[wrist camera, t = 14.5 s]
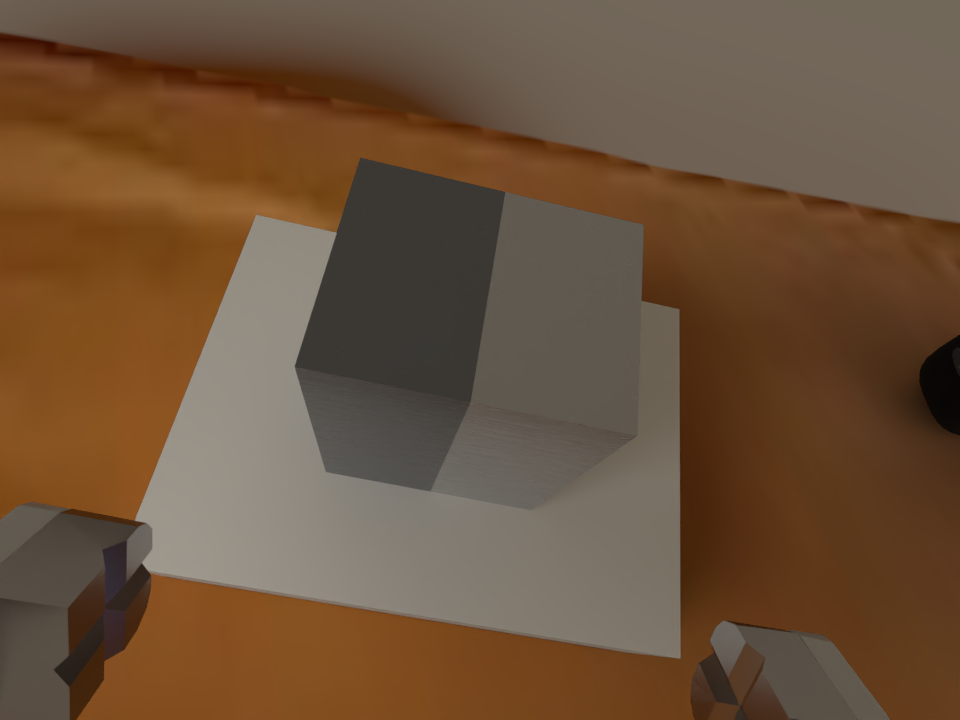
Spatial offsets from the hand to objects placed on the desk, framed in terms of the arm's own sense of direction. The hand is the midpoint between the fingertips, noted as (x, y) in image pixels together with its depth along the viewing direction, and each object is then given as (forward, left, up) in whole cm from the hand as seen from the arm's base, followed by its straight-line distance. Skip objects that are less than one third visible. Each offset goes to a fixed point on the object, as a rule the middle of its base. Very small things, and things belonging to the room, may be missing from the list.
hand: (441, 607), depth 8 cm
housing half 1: (+2, +6, -9) cm, 11 cm away
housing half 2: (-2, +6, -9) cm, 11 cm away
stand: (0, +6, -13) cm, 14 cm away
